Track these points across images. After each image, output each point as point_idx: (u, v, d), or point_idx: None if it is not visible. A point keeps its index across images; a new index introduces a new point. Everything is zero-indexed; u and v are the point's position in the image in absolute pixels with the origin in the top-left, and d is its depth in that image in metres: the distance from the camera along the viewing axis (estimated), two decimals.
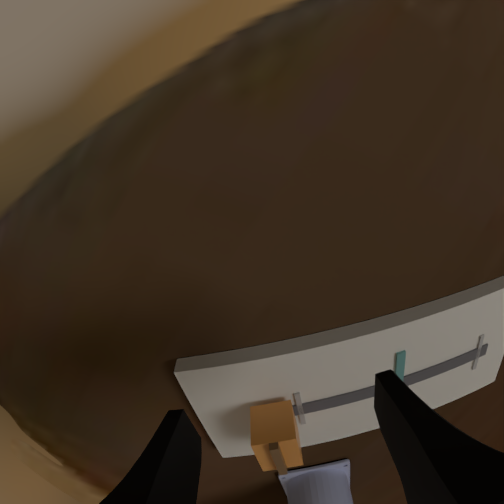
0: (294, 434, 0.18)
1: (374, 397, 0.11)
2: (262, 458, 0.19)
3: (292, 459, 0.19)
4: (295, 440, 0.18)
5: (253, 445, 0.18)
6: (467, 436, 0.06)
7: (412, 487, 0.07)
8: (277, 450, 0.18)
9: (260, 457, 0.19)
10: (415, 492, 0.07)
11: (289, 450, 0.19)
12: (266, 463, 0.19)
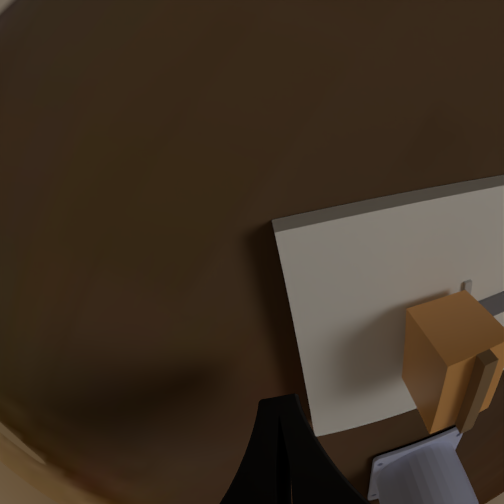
0: None
1: None
2: (447, 400, 0.09)
3: None
4: None
5: (451, 365, 0.08)
6: (343, 480, 0.06)
7: None
8: (495, 363, 0.08)
9: (445, 398, 0.09)
10: None
11: None
12: (444, 413, 0.09)
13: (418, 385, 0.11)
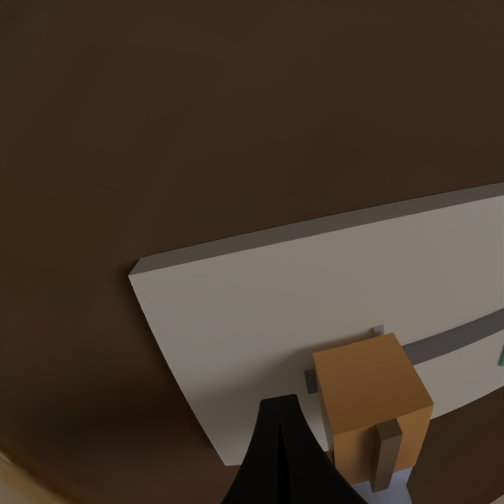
0: (427, 395, 0.07)
1: None
2: (346, 463, 0.08)
3: (402, 457, 0.08)
4: (430, 409, 0.07)
5: (339, 433, 0.07)
6: (341, 481, 0.06)
7: None
8: (398, 437, 0.07)
9: (343, 461, 0.08)
10: None
11: (408, 436, 0.08)
12: (349, 473, 0.08)
13: (327, 436, 0.10)
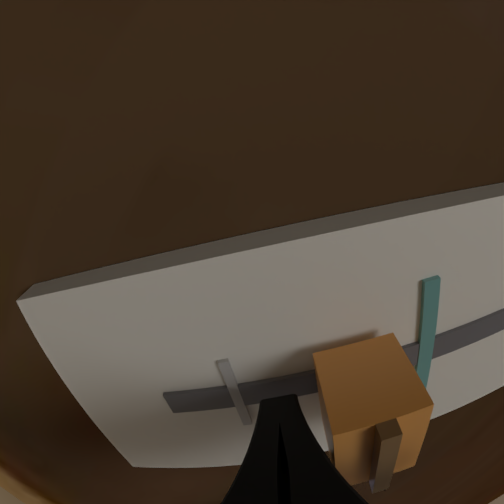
0: (426, 396, 0.07)
1: None
2: (346, 463, 0.08)
3: (402, 457, 0.08)
4: (430, 409, 0.07)
5: (339, 433, 0.07)
6: (341, 481, 0.06)
7: None
8: (398, 438, 0.07)
9: (343, 461, 0.08)
10: None
11: (408, 436, 0.08)
12: (349, 473, 0.08)
13: (327, 436, 0.10)
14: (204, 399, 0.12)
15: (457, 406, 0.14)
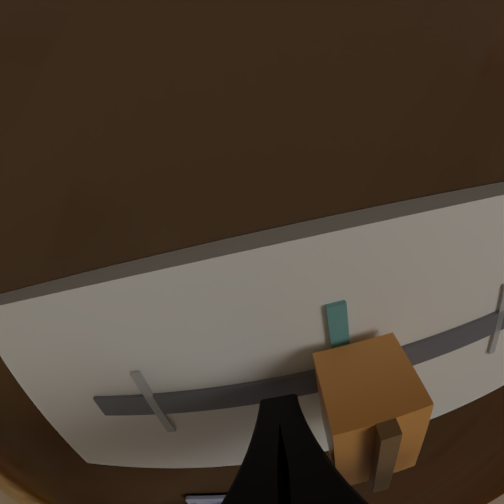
0: (426, 395, 0.07)
1: None
2: (346, 463, 0.08)
3: (402, 457, 0.08)
4: (430, 409, 0.07)
5: (338, 434, 0.07)
6: (341, 481, 0.06)
7: None
8: (398, 437, 0.07)
9: (343, 461, 0.08)
10: None
11: (408, 436, 0.08)
12: (349, 473, 0.08)
13: (327, 436, 0.10)
14: (127, 405, 0.12)
15: None
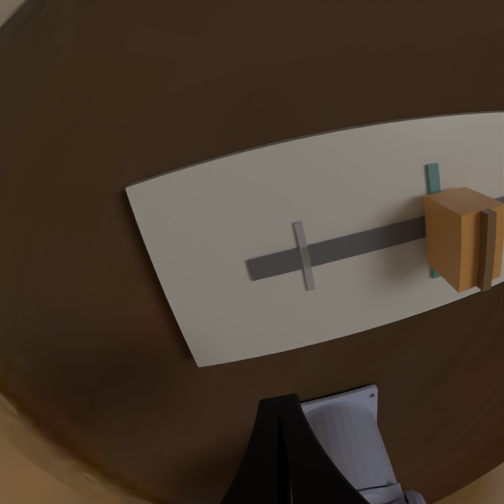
0: (499, 202, 0.12)
1: None
2: (466, 253, 0.12)
3: (494, 259, 0.13)
4: (503, 208, 0.12)
5: (463, 215, 0.12)
6: (343, 480, 0.06)
7: None
8: (495, 215, 0.11)
9: (465, 250, 0.12)
10: None
11: (495, 233, 0.12)
12: (467, 269, 0.13)
13: (442, 255, 0.14)
14: (280, 262, 0.17)
15: (470, 293, 0.18)
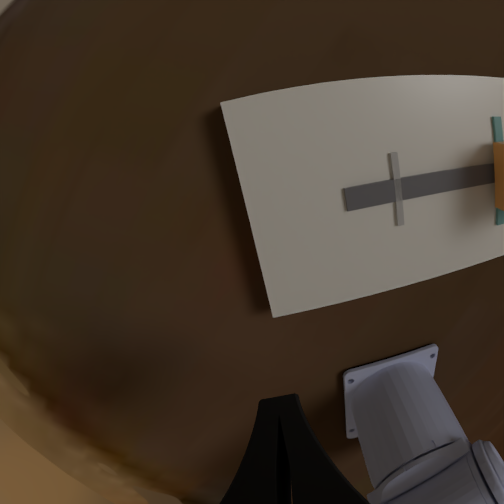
0: None
1: None
2: None
3: None
4: None
5: None
6: (343, 480, 0.06)
7: None
8: None
9: None
10: None
11: None
12: None
13: None
14: (376, 192, 0.16)
15: None
